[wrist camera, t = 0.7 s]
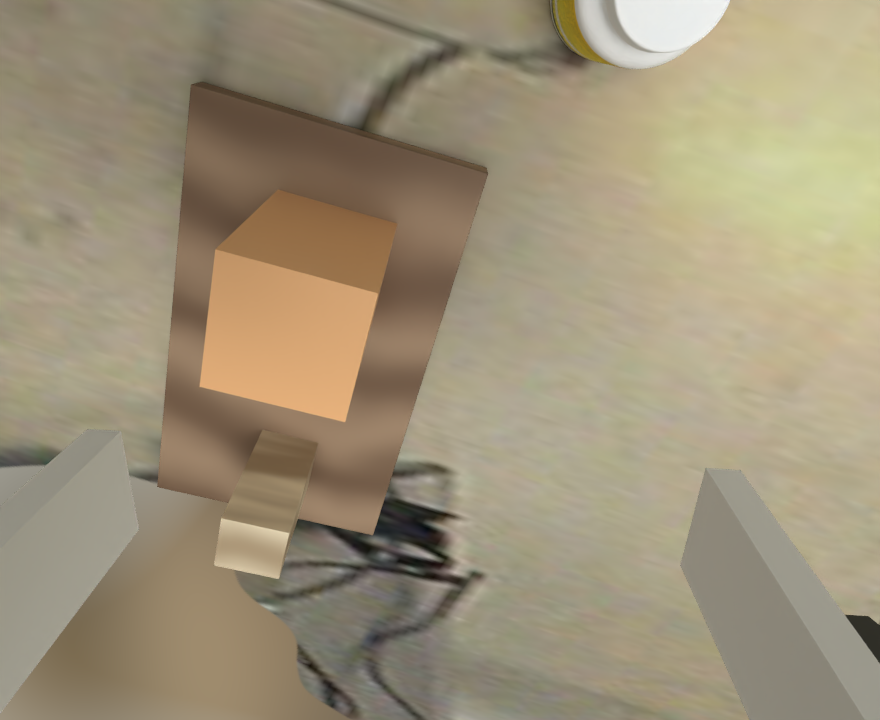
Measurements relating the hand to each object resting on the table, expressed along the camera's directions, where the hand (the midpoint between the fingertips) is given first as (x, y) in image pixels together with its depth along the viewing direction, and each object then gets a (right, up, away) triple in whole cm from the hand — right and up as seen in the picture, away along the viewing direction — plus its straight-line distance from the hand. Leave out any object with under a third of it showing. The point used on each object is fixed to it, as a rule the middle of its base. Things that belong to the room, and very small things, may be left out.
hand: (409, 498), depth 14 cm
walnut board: (-8, +4, +24) cm, 25 cm away
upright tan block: (-6, +8, +20) cm, 22 cm away
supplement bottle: (+9, +20, +15) cm, 27 cm away
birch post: (-9, -3, +26) cm, 28 cm away
